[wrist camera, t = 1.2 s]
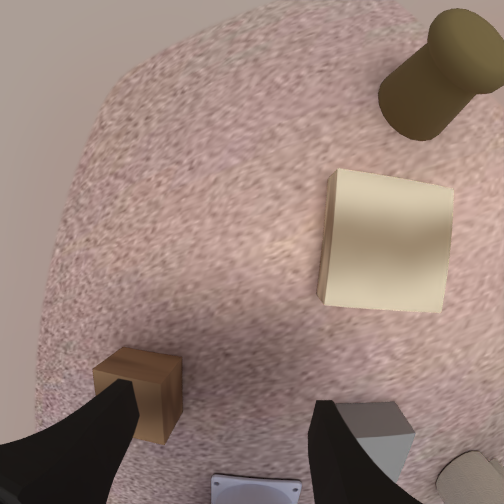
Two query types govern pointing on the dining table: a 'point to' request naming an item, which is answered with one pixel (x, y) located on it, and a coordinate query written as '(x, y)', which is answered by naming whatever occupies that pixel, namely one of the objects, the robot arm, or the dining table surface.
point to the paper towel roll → (472, 480)
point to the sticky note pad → (385, 243)
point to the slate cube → (380, 433)
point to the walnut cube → (147, 388)
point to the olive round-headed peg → (443, 75)
